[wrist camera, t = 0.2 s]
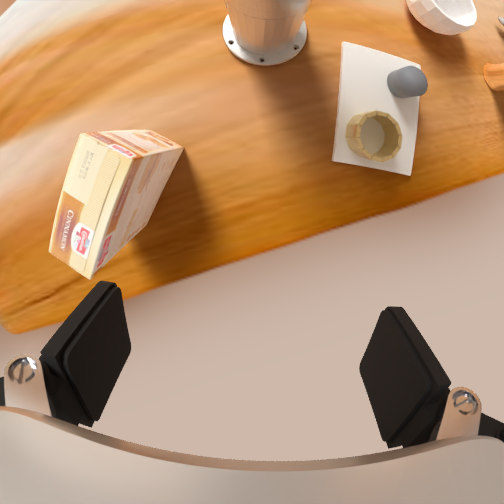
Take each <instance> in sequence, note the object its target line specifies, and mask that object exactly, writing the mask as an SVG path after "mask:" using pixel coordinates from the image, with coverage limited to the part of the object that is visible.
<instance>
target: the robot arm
mask: <svg viewBox="0 0 504 504" xmlns="http://www.w3.org/2000/svg"><path fill="white" fill-rule="evenodd" d="M311 2H312V0H225V4H226V8H227V12H228V15H227V16H226V18H225V20H224V24H223V37H224V41H225V43H226V45H227V47H228V48H229V50H230V51H231V52H232V53H233V54H234V55H235V56H236V57H238V58H239V59H241V60H243V61H245V62H247V63H250V64H254V65H260V66H273V65H278V64H281V63H284V62H287V61H289V60H290V59H292V58H294V57H295V56H296V55H297V54H298V53H299V52H300V50H301V49H302V48H303V46H304V44H305V41H306V38H307V28H306V24H305V21H304V17H305V15H306V13H307V11H308V8H309V6H310V4H311ZM230 43H233V44H232V45H230ZM294 48H297V50H294ZM260 60H264V62H261V61H260ZM130 351H131V342H130V338H129V333H128V328H127V323H126V317H125V312H124V306H123V300H122V294H121V289H120V288H119V287H117V285H116V284H115V283H113V282H106V281H100V282H98V283H97V285H96V286H95V287H94V288H93V289H92V290H91V291H90V292H89V294H88V295H87V296H86V297H85V298H84V299H83V300H82V301H81V303H80V304H79V305H78V306H77V307H76V308H75V310H74V311H73V312H72V313H71V314H70V316H69V317H68V318H67V319H66V320H65V322H64V323H63V324H62V325H61V327H60V328H59V329H58V330H57V331H56V333H55V334H54V335H53V336H52V338H51V339H50V340H49V341H48V343H47V344H46V345H45V347H44V348H43V349H42V351H41V354H42V355H41V356H40V358H39V359H38V358H37V357H36V356H34V355H31V354H22V355H18V356H16V357H14V358H13V359H11V360H10V361H9V362H8V363H7V365H6V367H5V370H4V377H1V378H0V504H504V423H502V422H500V421H498V420H495V419H493V418H491V417H489V416H487V415H485V414H483V413H481V402H480V399H479V398H478V396H477V395H476V394H475V393H474V392H473V391H471V390H469V389H467V388H464V387H457V388H454V389H452V391H450V390H449V388H448V387H449V386H450V384H451V381H450V380H449V378H448V376H447V375H446V373H445V371H444V370H443V368H442V366H441V365H440V363H439V361H438V360H437V358H436V357H435V355H434V353H433V352H432V350H431V349H430V347H429V346H428V344H427V342H426V341H425V339H424V338H423V336H422V335H421V333H420V332H419V330H418V329H417V327H416V326H415V324H414V323H413V322H412V320H411V319H410V317H409V316H408V314H407V313H406V311H405V310H404V309H403V308H402V307H387V308H386V309H385V310H384V311H382V312H381V314H380V316H379V319H378V322H377V324H376V327H375V329H374V332H373V334H372V337H371V339H370V342H369V344H368V346H367V349H366V352H365V353H364V356H363V358H362V360H361V363H360V374H361V377H362V379H363V382H364V385H365V388H366V391H367V394H368V397H369V400H370V403H371V405H372V409H373V412H374V415H375V418H376V421H377V424H378V428H379V431H380V434H381V437H382V440H383V441H386V443H387V446H388V448H393V447H397V446H401V445H402V446H403V448H402V449H397V450H392V451H387V452H382V453H375V454H370V455H363V456H355V457H347V458H338V459H327V460H313V461H276V462H274V461H245V460H232V459H221V458H211V457H203V456H196V455H189V454H183V453H177V452H171V451H166V450H161V449H156V448H151V447H147V446H143V445H139V444H135V443H131V442H127V441H124V440H120V439H117V438H113V437H110V436H106V435H103V434H100V433H97V432H94V431H90V430H87V429H84V428H81V427H79V426H78V424H79V423H80V424H83V425H85V426H88V427H92V425H93V423H94V421H98V420H99V419H100V416H101V414H102V412H103V410H104V407H105V405H106V403H107V401H108V398H109V396H110V394H111V392H112V390H113V388H114V386H115V383H116V381H117V379H118V377H119V375H120V373H121V371H122V368H123V366H124V364H125V362H126V360H127V358H128V356H129V354H130Z"/></svg>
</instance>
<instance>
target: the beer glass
mask: <svg viewBox="0 0 504 504" xmlns="http://www.w3.org/2000/svg"><path fill="white" fill-rule="evenodd" d="M483 73H484V78H485V80H486V82H487V84H488V86H489V87H490V88H491V89H492V90H494V91H500V90H503V89H504V62H503V63H500V64H492V63H487V64H485V66H484V68H483Z"/></svg>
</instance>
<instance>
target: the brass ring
mask: <svg viewBox="0 0 504 504" xmlns="http://www.w3.org/2000/svg"><path fill="white" fill-rule="evenodd" d="M369 117H371V118H374V119H375V120H376V121H377V122H379V123H380V124H381V126H382V128H383V131H384V134H385V137H384V144H383V146H382V147H381V148H380V150H379V151H378V152H376V153H373V154H370V153H369V152H368V151H366V150H365V149H364V147H363V144H362V142H361V139H360V133H361V126H362V125H363V123H364V122H365V121H366V119H367V118H369ZM345 138H346V141H347V143H348V146H349V148H350V149H351V150H352V151H353V152H354V153H355V154H357V155H358V156H359V157H362V158H366V159H370V160H374V161H379V162H385V161H388V160H390V159H393V158H394V157H395V156H396V154H397V153H398V152H399V150H400V149H401V144H402V132H401V130H400V127H399V124H398V122H397V121H396V120H395V119H394V118H393V117H392V116H391V115H390V114H388V113H385V112H381V111H377V110H376V111H369V112H363V113H360V114H357V115H354V116H353V117H352V118H351V120H350V121H349V122H348V124H347V125H346V134H345Z"/></svg>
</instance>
